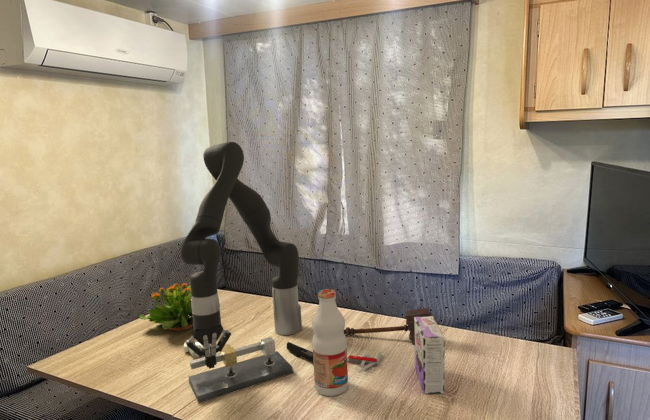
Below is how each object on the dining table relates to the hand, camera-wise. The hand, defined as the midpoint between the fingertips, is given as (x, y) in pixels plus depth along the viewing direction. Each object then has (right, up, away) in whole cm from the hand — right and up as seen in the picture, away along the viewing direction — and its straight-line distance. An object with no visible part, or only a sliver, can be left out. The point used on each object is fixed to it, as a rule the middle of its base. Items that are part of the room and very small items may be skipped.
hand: (211, 366), depth 124 cm
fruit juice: (+34, -5, -2) cm, 35 cm away
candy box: (+62, -4, -1) cm, 62 cm away
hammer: (+54, 0, +26) cm, 60 cm away
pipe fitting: (-11, -4, +22) cm, 25 cm away
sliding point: (+4, -3, +5) cm, 7 cm away
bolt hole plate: (+8, -5, +5) cm, 11 cm away
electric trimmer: (+26, -3, +16) cm, 31 cm away
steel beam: (+6, -3, +5) cm, 8 cm away
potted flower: (-22, -1, +45) cm, 51 cm away
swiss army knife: (+43, -3, +11) cm, 45 cm away
